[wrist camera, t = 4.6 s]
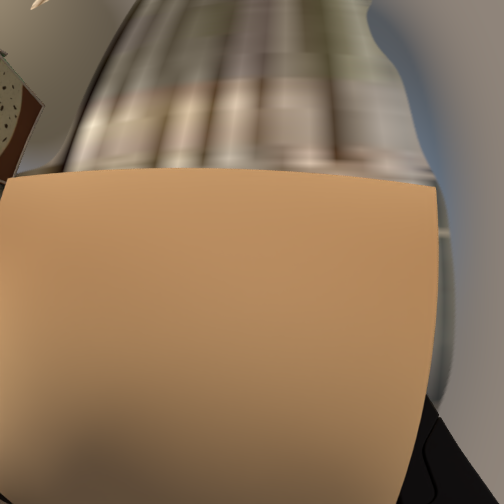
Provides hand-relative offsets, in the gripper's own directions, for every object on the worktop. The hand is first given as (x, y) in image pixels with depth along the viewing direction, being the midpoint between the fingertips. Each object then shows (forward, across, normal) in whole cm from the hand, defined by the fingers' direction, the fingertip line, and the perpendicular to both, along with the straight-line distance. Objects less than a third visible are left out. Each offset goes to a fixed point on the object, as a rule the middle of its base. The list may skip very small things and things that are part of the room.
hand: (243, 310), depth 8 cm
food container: (+15, +29, -2) cm, 33 cm away
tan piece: (+4, 0, +6) cm, 7 cm away
